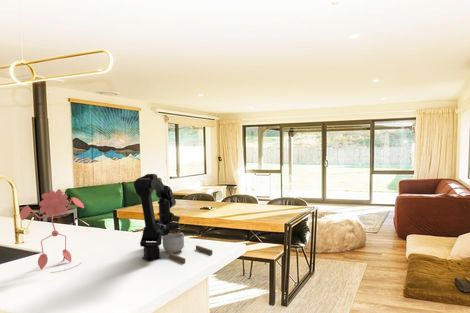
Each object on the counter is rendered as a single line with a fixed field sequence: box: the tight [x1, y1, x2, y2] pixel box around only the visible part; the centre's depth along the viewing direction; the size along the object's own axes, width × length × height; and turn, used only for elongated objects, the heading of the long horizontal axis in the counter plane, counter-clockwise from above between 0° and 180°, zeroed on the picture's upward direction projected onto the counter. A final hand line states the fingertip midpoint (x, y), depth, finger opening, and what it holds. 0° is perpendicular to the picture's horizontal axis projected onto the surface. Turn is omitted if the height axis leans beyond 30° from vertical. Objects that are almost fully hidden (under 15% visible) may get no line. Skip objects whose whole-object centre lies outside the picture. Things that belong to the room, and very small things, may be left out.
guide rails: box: [168, 244, 213, 264], centre depth 166 cm, size 17×12×2 cm
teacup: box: [161, 232, 185, 254], centre depth 175 cm, size 14×11×8 cm
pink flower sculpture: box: [19, 188, 85, 274], centre depth 154 cm, size 15×26×35 cm, turn 132°
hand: (165, 240), depth 182 cm, fingers closed
